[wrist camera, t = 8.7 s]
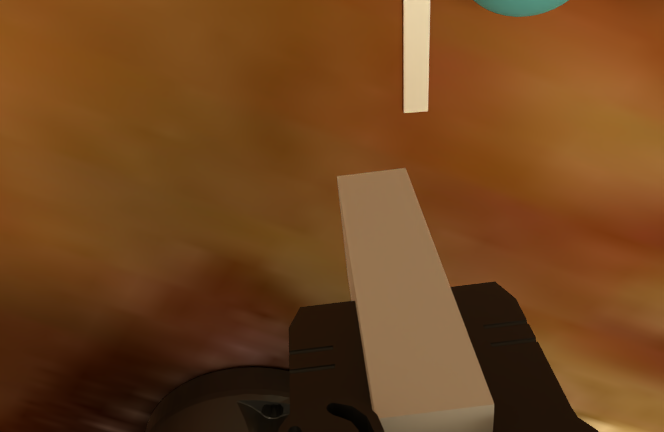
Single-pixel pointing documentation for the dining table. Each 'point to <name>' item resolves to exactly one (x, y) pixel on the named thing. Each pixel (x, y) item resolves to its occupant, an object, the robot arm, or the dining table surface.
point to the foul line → (416, 55)
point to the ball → (520, 6)
